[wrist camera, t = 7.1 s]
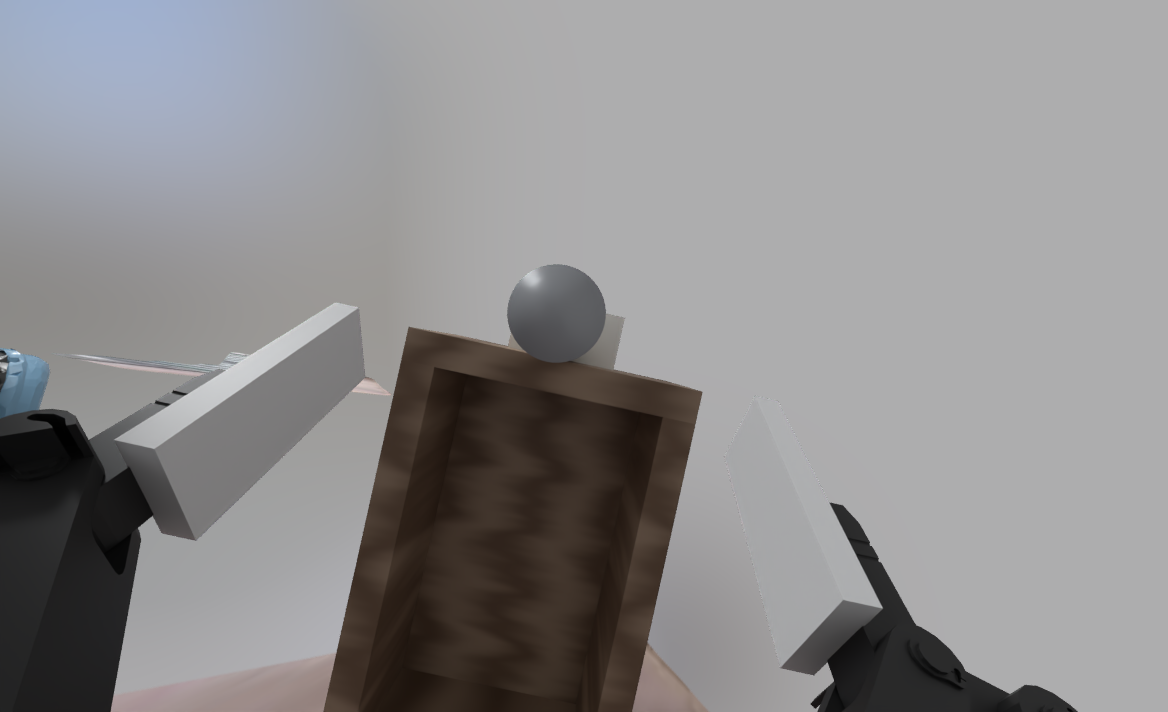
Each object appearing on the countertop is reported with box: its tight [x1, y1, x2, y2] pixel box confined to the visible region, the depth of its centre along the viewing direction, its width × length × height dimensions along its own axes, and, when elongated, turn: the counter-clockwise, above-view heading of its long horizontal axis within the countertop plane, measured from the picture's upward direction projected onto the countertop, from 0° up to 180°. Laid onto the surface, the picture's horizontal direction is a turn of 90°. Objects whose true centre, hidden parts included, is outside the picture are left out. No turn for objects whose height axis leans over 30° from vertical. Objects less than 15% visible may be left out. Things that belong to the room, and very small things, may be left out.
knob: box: [507, 265, 625, 370], centre depth 26 cm, size 18×8×4 cm, turn 1°
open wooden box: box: [324, 327, 702, 712], centre depth 30 cm, size 18×10×28 cm, turn 91°
